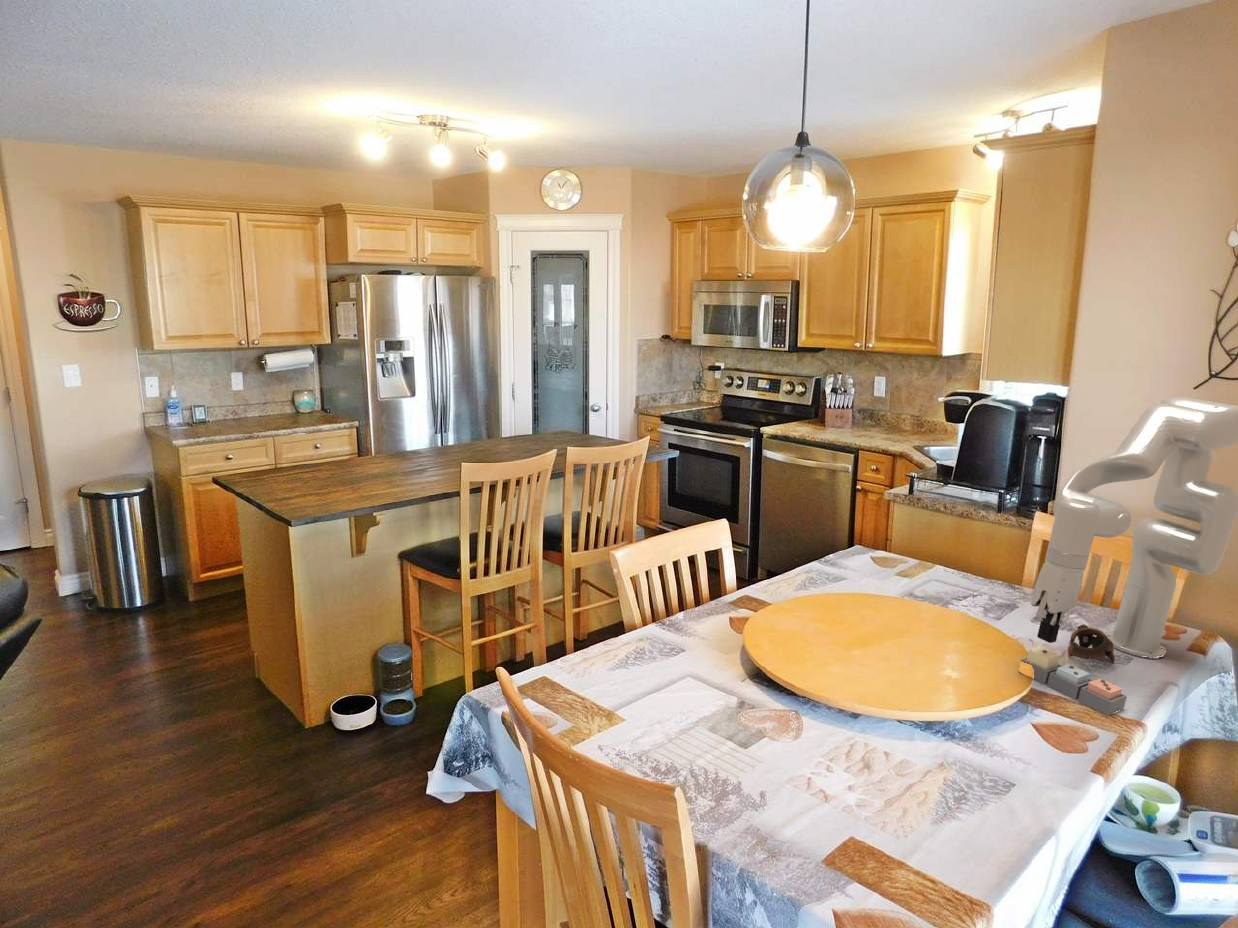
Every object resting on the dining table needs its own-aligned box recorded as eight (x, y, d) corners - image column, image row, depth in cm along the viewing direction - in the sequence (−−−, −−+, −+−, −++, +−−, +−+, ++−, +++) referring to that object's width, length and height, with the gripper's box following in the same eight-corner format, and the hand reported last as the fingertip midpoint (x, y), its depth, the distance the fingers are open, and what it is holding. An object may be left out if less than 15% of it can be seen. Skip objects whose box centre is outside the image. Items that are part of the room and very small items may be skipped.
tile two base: (1062, 680, 172) (1065, 667, 171) (1091, 693, 167) (1094, 680, 166) (1046, 685, 169) (1050, 672, 168) (1075, 699, 164) (1078, 686, 163)
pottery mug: (1125, 672, 180) (1120, 645, 176) (1080, 683, 182) (1075, 657, 178) (1099, 636, 190) (1095, 610, 187) (1058, 647, 192) (1052, 622, 189)
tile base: (1093, 694, 167) (1096, 681, 166) (1123, 709, 162) (1127, 695, 161) (1077, 701, 164) (1080, 687, 163) (1107, 715, 159) (1111, 702, 158)
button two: (1064, 681, 171) (1069, 662, 170) (1085, 690, 167) (1090, 672, 166) (1053, 685, 168) (1057, 666, 167) (1073, 695, 165) (1078, 676, 164)
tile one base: (1034, 666, 177) (1036, 654, 177) (1060, 679, 172) (1063, 666, 172) (1018, 671, 174) (1021, 659, 173) (1044, 684, 169) (1047, 671, 168)
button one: (1036, 662, 176) (1041, 644, 175) (1056, 671, 172) (1060, 653, 171) (1025, 666, 174) (1029, 648, 172) (1044, 675, 170) (1049, 657, 169)
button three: (1095, 695, 166) (1100, 676, 164) (1117, 706, 162) (1122, 687, 161) (1084, 700, 163) (1088, 681, 162) (1106, 711, 160) (1111, 691, 159)
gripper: (1068, 549, 174) (1049, 627, 178) (1028, 555, 166) (1009, 637, 170) (1103, 561, 168) (1082, 642, 172) (1064, 568, 160) (1043, 653, 164)
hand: (1046, 639), depth 171 cm, fingers closed
